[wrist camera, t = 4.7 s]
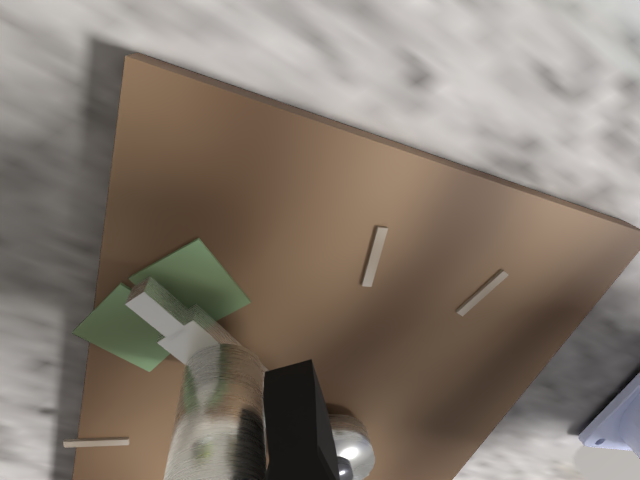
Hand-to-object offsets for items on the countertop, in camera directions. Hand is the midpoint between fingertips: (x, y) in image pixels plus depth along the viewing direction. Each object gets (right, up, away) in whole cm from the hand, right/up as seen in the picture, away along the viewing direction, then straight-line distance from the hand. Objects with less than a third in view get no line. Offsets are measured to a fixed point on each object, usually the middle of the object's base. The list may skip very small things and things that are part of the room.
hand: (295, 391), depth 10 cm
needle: (-1, -1, +3) cm, 3 cm away
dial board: (+1, -1, +5) cm, 5 cm away
